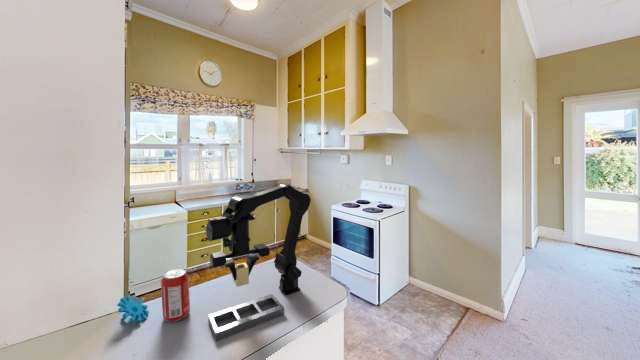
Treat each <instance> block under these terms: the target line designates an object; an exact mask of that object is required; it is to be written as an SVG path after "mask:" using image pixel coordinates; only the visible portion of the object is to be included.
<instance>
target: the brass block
mask: <svg viewBox="0 0 640 360" xmlns="http://www.w3.org/2000/svg"><path fill="white" fill-rule="evenodd" d="M235 271H236V280H235V281H234V280H233V283H234V284H235V287H237V288H238V287H241V286H245V285H249V283H250V282H249V281H250V279H249V278H250V277H249V276H250V275H249V267H248V266H247V262H242V263H241V262H240V263H235Z"/></svg>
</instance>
